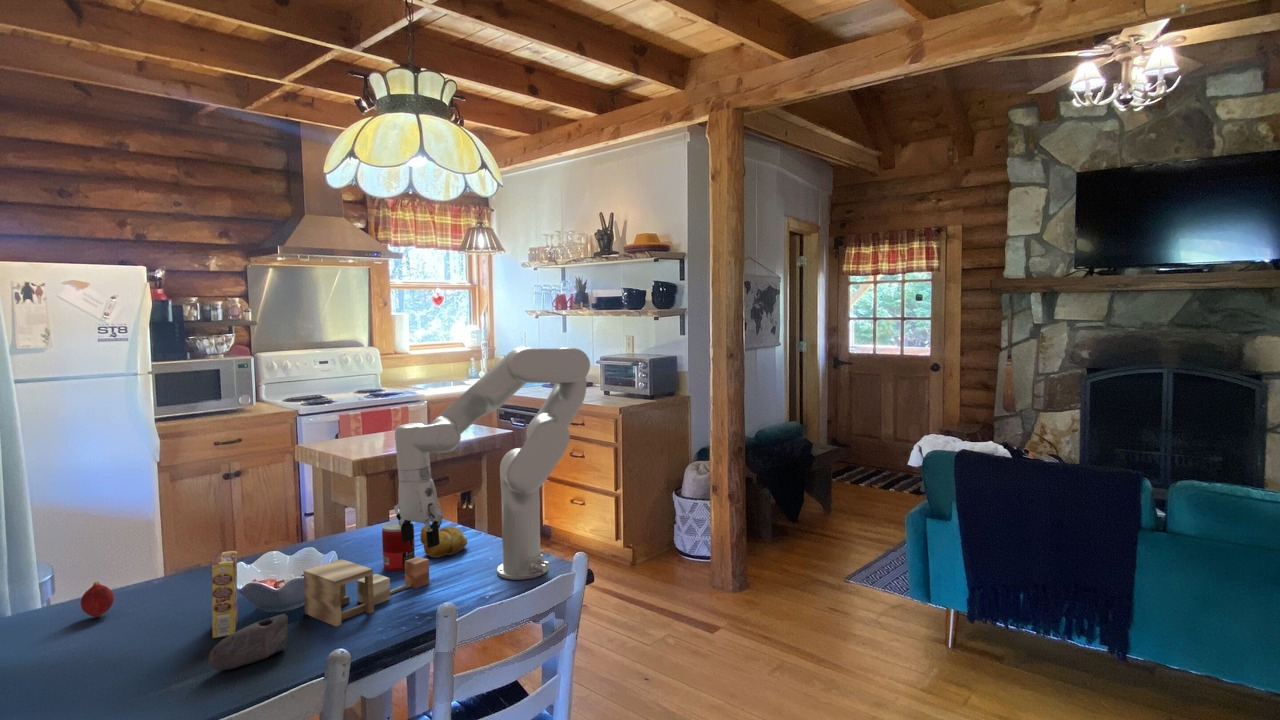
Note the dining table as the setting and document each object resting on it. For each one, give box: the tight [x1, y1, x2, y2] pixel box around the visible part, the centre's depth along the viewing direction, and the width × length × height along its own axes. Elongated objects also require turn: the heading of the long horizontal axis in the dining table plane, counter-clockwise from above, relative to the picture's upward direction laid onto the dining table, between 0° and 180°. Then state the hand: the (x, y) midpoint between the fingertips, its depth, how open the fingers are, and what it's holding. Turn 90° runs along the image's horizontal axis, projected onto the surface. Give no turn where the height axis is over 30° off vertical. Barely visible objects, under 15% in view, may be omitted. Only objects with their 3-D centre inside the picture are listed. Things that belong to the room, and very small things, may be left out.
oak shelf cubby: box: [303, 558, 375, 627], centre depth 155 cm, size 12×9×10 cm
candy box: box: [211, 550, 239, 639], centre depth 148 cm, size 9×4×15 cm, turn 26°
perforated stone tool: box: [207, 613, 289, 671], centre depth 134 cm, size 15×5×7 cm, turn 140°
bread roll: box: [420, 525, 468, 558], centre depth 196 cm, size 13×10×8 cm
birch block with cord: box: [356, 555, 430, 606], centre depth 167 cm, size 5×16×6 cm, turn 145°
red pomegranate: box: [80, 580, 115, 618], centre depth 154 cm, size 6×6×8 cm
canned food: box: [381, 521, 416, 572], centre depth 185 cm, size 8×8×11 cm
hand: (420, 543), depth 172 cm, fingers open, 9 cm apart
